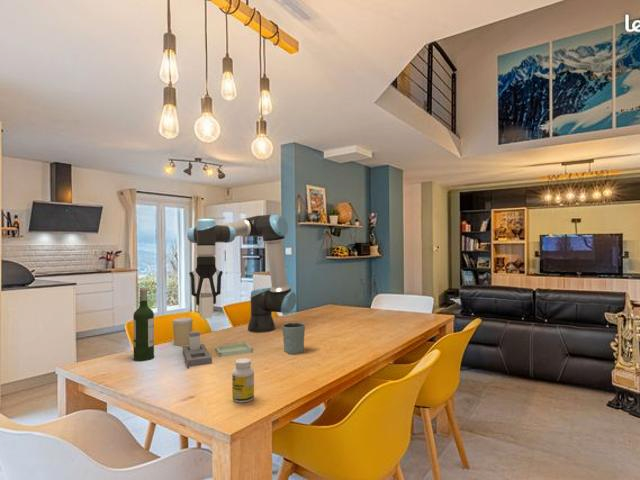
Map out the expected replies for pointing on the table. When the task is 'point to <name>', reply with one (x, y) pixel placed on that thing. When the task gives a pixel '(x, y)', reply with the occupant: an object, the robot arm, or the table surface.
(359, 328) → the table surface
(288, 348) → the grey-green cup
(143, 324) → the wine bottle
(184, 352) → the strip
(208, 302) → the plug
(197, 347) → the twin plug
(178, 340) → the coffee cup
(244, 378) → the pill bottle
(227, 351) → the tray
